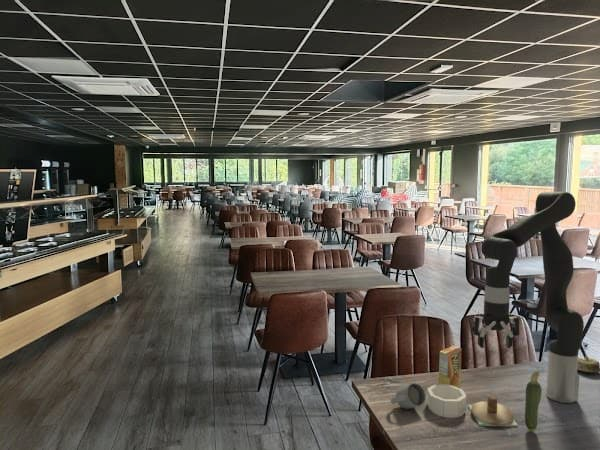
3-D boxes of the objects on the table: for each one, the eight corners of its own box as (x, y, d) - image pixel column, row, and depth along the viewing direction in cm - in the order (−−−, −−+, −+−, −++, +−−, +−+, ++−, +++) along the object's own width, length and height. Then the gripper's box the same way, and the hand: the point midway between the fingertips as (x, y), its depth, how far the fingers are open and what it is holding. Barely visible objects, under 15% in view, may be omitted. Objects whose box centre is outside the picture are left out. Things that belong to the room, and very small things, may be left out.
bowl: (458, 400, 162) (459, 384, 161) (469, 418, 150) (469, 401, 149) (424, 399, 162) (425, 383, 162) (432, 417, 151) (432, 400, 150)
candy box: (451, 383, 175) (452, 345, 173) (461, 387, 172) (462, 348, 170) (437, 390, 170) (438, 351, 168) (447, 394, 166) (449, 354, 165)
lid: (504, 405, 157) (505, 389, 157) (520, 425, 144) (520, 408, 144) (466, 404, 158) (466, 388, 157) (478, 424, 145) (479, 407, 145)
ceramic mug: (411, 411, 158) (411, 388, 162) (426, 408, 151) (426, 385, 155) (385, 404, 155) (386, 381, 159) (399, 402, 148) (399, 378, 152)
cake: (606, 374, 183) (607, 361, 182) (580, 373, 183) (581, 361, 183) (591, 364, 192) (592, 351, 192) (567, 363, 193) (568, 351, 192)
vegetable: (521, 427, 145) (524, 367, 142) (533, 426, 145) (537, 366, 143) (529, 434, 140) (532, 373, 138) (542, 434, 141) (545, 372, 138)
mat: (503, 407, 157) (503, 405, 157) (517, 426, 145) (517, 424, 145) (468, 406, 158) (468, 404, 158) (479, 425, 146) (479, 423, 146)
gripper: (514, 296, 150) (512, 343, 152) (470, 295, 151) (469, 342, 153) (524, 302, 143) (521, 352, 144) (477, 302, 144) (476, 351, 145)
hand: (494, 347), depth 149 cm, fingers open, 8 cm apart
